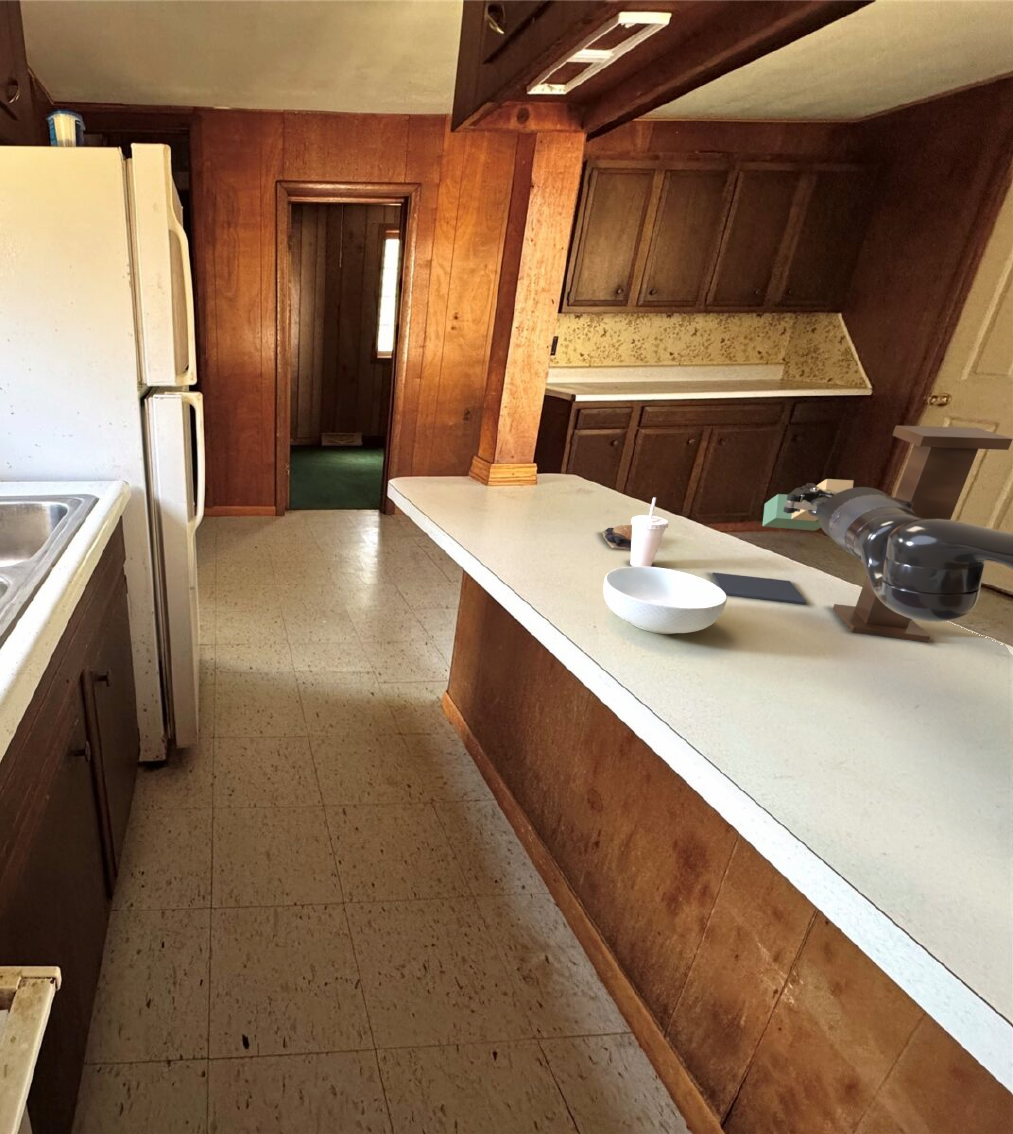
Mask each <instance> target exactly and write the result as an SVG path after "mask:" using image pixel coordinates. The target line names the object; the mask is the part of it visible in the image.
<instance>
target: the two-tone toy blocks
mask: <svg viewBox="0 0 1013 1134" xmlns="http://www.w3.org/2000/svg"><path fill="white" fill-rule="evenodd" d="M854 482H855V481H854V480H852V479H833V478H826V479H824V480H823V481H820V483H818V484H817V485H816V486H817V487H819V488H820V489H830V490H833V491H835V492H837V493H839V492H841V491H844V490H846V489H850V488H854ZM787 496H788V494H782V493H777V494H776V495H775V496H773V497H772V498H770V499H769V500H768V501H766V502H765V503H764V506H763V507H764V508H763V516H762V517H763V518H762V527H766V528H778V529H787V530H788V529H789V530H802V531H813V532H814V531H817V530H820V528H821V526H820V524H819V521H818V517H815V516H812V515H810V514H809V513H808V510H803V509H801V510H800V512H796V511H795V512H794V513H786V512H783V510H784V507H785V503H786V500H787ZM821 529H822V528H821Z"/></svg>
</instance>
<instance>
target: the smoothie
mask: <svg viewBox="0 0 1013 1134" xmlns="http://www.w3.org/2000/svg"><path fill="white" fill-rule="evenodd" d="M656 502H657V497H653V498H652V500H651V506H650V510H649V514H638V515H634V516H632V518H631V521H630V525H632V541H631V549H630V561H629V562H630V563H629V564H630V565H631V566H648V567H653V566H652V565H653V563H654V560H655V557H656V555H657V552H658V550H659V547H660V544H661V542H662V539H663V537H664V534H665V531H666V529H667V528H669V523H670V522H669V520H668V519H666V518H663V517H660V516H655V515H654V511H655V507H656Z"/></svg>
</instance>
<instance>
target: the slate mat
mask: <svg viewBox="0 0 1013 1134" xmlns="http://www.w3.org/2000/svg"><path fill="white" fill-rule="evenodd" d="M711 576H712V577H713V579H714V581H715V584H716V586H718V587H719V588H721V589H722V590H723V591H724V592H725V594H726V596H732V597H738V598H739V597H740V598H747V599H757V600H764V601H771V602H772V601H773V602H779V603H789V604H797V605H807V601H806V600H805V599H804V597H803V596H802V594H800V592H799V590H798V589H797V588H796V587H795V585H794V584H793V583H792V581H790V580H785V579H776V578H767V577H757V576H748V575H741V574H731V573H722V572H712V575H711Z"/></svg>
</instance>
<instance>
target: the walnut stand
mask: <svg viewBox="0 0 1013 1134" xmlns="http://www.w3.org/2000/svg"><path fill="white" fill-rule="evenodd" d="M892 436H893V437H895V438H898V439H899V440H903V441H904V442H907V443H909V444H912V445H913V446H912V448H911V450H910V454H909V457H908V459H907V462H906V465H905V468H904V471H903V473H902V476H901V479H900V482H899V485H898V488H897V490H896V493H895V495H894V498H897V499H901V500H904V501H909V502H911V503H913V506H912V511H913V512H914V513H915V514H916V515H918V516H919V517H921V518H923V519H926V518H940V519H948V520H952V517H953V515H954V512H955V510H956V507H957V504H958V502H959V500H960V497H961V494H962V492H963V490H964V487H965V484H966V481H967V479H968V477H969V474H970V471H971V469H972V467H973V464H974V462H975V459H976V457H977V455H978V452H979V450H998V451H999V450H1001V451H1009V449H1010V447H1011V444H1012V442H1013V438H1011V437H1008V436H1004V435H1002V434H999V433H996V432H992V431H989V430H985V429H982V428H980V427H979V428H978V427H962V426H960V427H958V426H923V425H895V427H894V429H893V432H892ZM832 610H833V611H834V613H835V614H836V615H837V616H838V617H839V619H840V620H841V621H842V622H843V624H845V626H846V627H847V628H848V630H849V631H851V633H855V634H862V635H863V634H864V635H870V636H876V637H877V636H878V637H886V638H893V639H901V640H906V641H907V640H909V641H915V642H924V643H929V641H930V639H931V636H930V634H928V633H927V632H926V631H925V630H924V629H923V628H922V627H921V626H920V625H918V623H916V622H915V620H914V619H911V618H907V617H905V616H902V615H900V614H898V613H896V612H894V611H892V610H891V609H889V608H888V607H886V606H885V605H884V604H883V603H882V602H881V601H880V600H879V599H878V597H877V596H876V594H875V592H874V590H873V588H872V586H871V584H870V581H869V579H868V576H867V575H866V576H865V579H864V582H863V585H862V588H861V590H860V594H859V596H858V598H857V602H856V604H855V606H854V605H846V604H840V603H839V604H838V603H834V604H833V607H832Z"/></svg>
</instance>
